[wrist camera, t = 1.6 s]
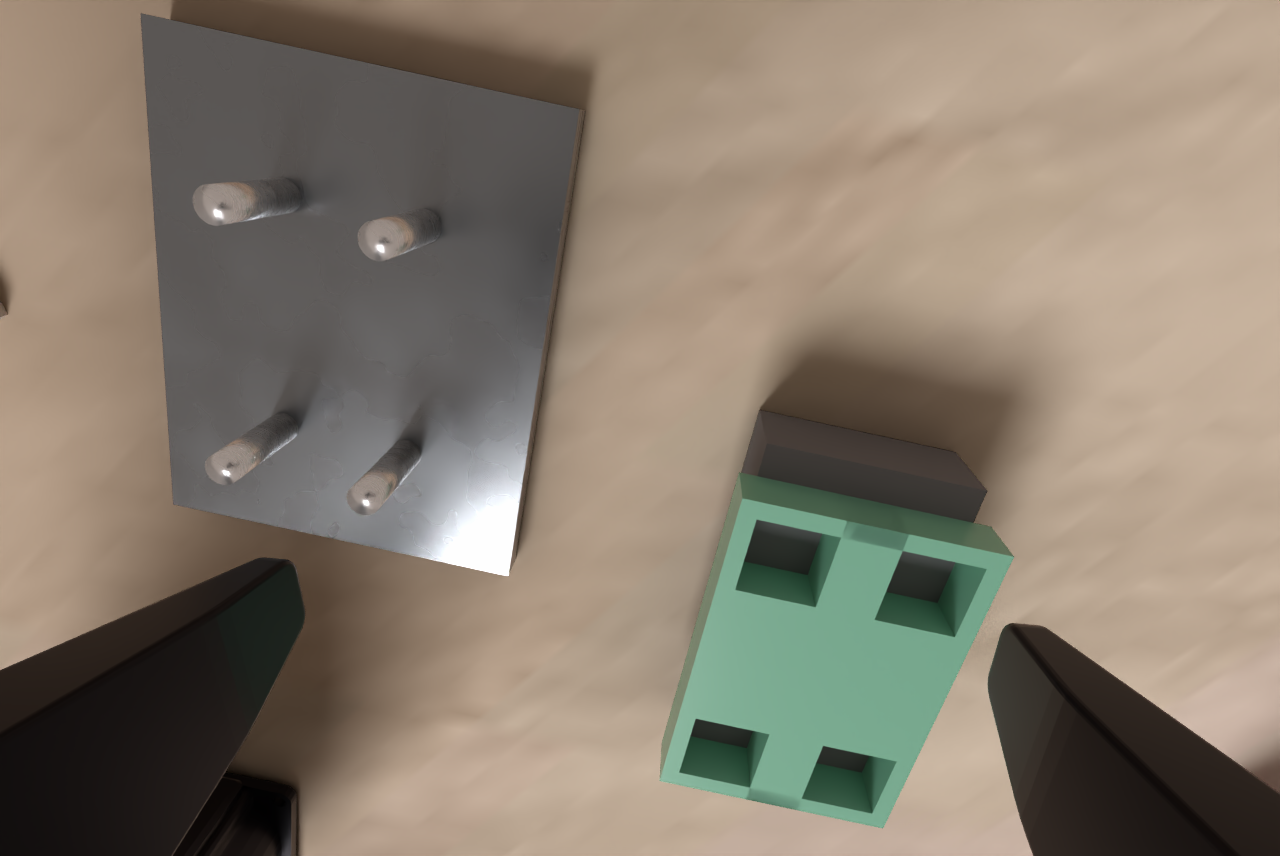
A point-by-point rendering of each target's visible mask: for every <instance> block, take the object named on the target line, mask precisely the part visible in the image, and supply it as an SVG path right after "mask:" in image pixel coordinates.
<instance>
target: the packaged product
mask: <svg viewBox="0 0 1280 856" xmlns="http://www.w3.org/2000/svg"><path fill="white" fill-rule="evenodd" d="M6 315H8V314H7V312H6V310H5V308H4V306H3V305H2V303H1V301H0V319H1V318H3V317H5V316H6Z"/></svg>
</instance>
